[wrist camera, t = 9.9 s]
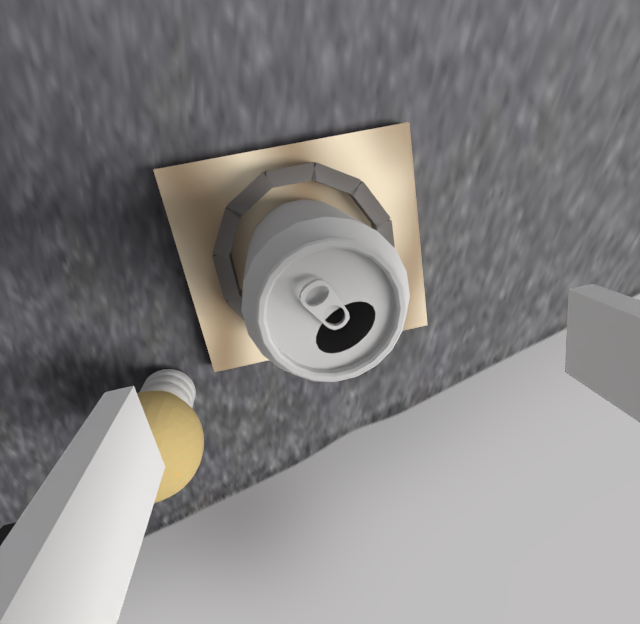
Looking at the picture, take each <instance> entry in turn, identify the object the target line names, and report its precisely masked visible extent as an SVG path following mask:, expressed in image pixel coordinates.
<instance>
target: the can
mask: <svg viewBox="0 0 640 624" xmlns="http://www.w3.org/2000/svg"><path fill="white" fill-rule="evenodd" d="M409 299H410V293H409V285H408V277H407V271H406V269H405V267H404V265H403V263H402V261H401V259H400V257H399V255H398V253H397V251H396V249H395V248H394V247H393V246H392V245H391V244H390V243H389V242H388V241H387V240H386V239H385V238H384V237H383V236H382V235H381V234H380V233H379V232H378V231H376V230H375V229H373V228H371V227H369V226H367V225H366V224H364V223H362V222H360V221H358V220H357V219H355V218H353V217H351V216H350V215H348V214H346V213H344V212H342V211H341V210H339V209H337V208H335V207H333V206H330V205H328V204H326V203H324V202H322V201H315V200H306V199H301V200H296V201H291V202H287V203H283V204H282V205H280V206H278V207H277V208H275V209H273V210H272V211H270V212H268V213H267V214H266V216H265V217H264V218H263V219H262V220H261V221H260V223H259V224H258V225H257V226H256V228H255V230H254V232H253V235H252V237H251V240H250V242H249V246H248V253H247V260H246V267H245V273H244V280H243V292H242V309H241V311H242V314H243V318H244V321H245V325H246V328H247V332H248V335H249V336H250V338H251V339H252V341H253V342H254V343H255V345H256V346H257V348H258V349H259V351H260V352H261V353H262V355H263V356H264V357H266V358H267V359H269V360H270V361H271V362H273V363H274V364H275V365H277V366H278V367H279V368H281V369H282V370H284V371H287V372H290V373H291V374H294V375H296V376H299V377H302V378H305V379H308V380H311V381H324V382H337V381H341V380H345V379H349V378H353V377H357V376H359V375H361V374H362V373H364V372H366V371H368V370H369V369H371V368H373V367H375V366H376V365H378V363H379V362H380V361H381V360H382V359H383V358H384V357H385V356H386V355H387V354H388V353H389V352H390V351H391V350H392V349H393V347H394V345H395V344H396V342H397V340H398V338H399V336H400V334H401V332H402V331H403V327H404V322H405V320H406V314H407V309H408V304H409Z"/></svg>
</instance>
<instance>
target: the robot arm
mask: <svg viewBox="0 0 640 624" xmlns="http://www.w3.org/2000/svg"><path fill="white" fill-rule="evenodd" d="M565 372H566V373H567V374H569V375H570V376H572V377H573V378H575V379H576V380H578V381H579V382H581V383H582V384H584V385H585V386H587V387H588V388H590V389H591V390H593V391H594V392H595V393H597V394H598V395H600V396H601V397H603V398H604V399H606V400H607V401H609V402H611V403H612V404H613V405H615V406H616V407H618V408H619V409H621V410H622V411H624V412H625V413H627V414H628V415H630V416H631V417H633V418H634V419H636V420H637V421H639V422H640V300H638V299H635V298H632V297H629V296H626V295H623V294H621V293H618V292H615V291H612V290H609V289H606V288H604V287H601V286H598V285H595V284H590V285H586V286H581V287H577V288H572V289H569V292H568V316H567V339H566V363H565ZM164 469H165V465H164V462H163V460H162V457H161V454H160V452H159V449H158V447H157V444H156V442H155V439H154V436H153V434H152V431H151V429H150V426H149V423H148V421H147V418H146V416H145V413H144V411H143V408H142V405H141V403H140V400H139V398H138V395H137V393H136V390H135V387H134V386H130V387H126V388H121V389H117V390H112V391H108V392H105V393H104V394H103V396H102V397H101V399H100V400H99V401H98V403H97V404H96V406H95V407H94V409H93V410H92V412H91V413H90V415H89V416H88V418H87V419H86V421H85V422H84V424H83V425H82V427H81V428H80V429H79V431H78V432H77V434H76V435H75V437H74V438H73V440H72V441H71V443H70V444H69V446H68V447H67V449H66V450H65V452H64V453H63V455H62V456H61V457H60V459H59V460H58V462H57V463H56V465H55V466H54V468H53V469H52V471H51V472H50V474H49V475H48V477H47V478H46V480H45V481H44V483H43V484H42V485H41V487H40V488H39V490H38V491H37V493H36V494H35V496H34V497H33V499H32V500H31V502H30V503H29V505H28V506H27V508H26V509H25V511H24V512H23V513H22V515H21V516H20V518H19V519H18V521H17V522H16V523H12V524H8V525H4V526H3V527H2V528H1V529H0V624H117V621H118V618H119V614H120V611H121V608H122V605H123V602H124V598H125V595H126V592H127V589H128V585H129V582H130V579H131V575H132V572H133V569H134V566H135V563H136V560H137V556H138V553H139V550H140V546H141V543H142V540H143V537H144V534H145V531H146V527H147V524H148V521H149V518H150V514H151V511H152V508H153V505H154V502H155V498H156V495H157V492H158V489H159V485H160V482H161V479H162V476H163V472H164Z"/></svg>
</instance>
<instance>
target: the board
mask: <svg viewBox="0 0 640 624" xmlns="http://www.w3.org/2000/svg"><path fill="white" fill-rule="evenodd" d="M153 171H154V174H155V177H156V181H157V184H158V187H159V190H160V194H161V197H162V200H163V204H164V207H165V210H166V214H167V217H168V220H169V223H170V227H171V230H172V233H173V237H174V240H175V243H176V247H177V250H178V253H179V256H180V260H181V263H182V266H183V270H184V273H185V276H186V280H187V283H188V286H189V289H190V293H191V296H192V299H193V303H194V306H195V309H196V313H197V316H198V319H199V322H200V326H201V329H202V332H203V336H204V339H205V342H206V346H207V349H208V352H209V355H210V359H211V362H212V365H213V369H214V372H218V371H222V370H227V369H231V368H236V367H240V366H245V365H249V364H254V363H258V362H263V361H267V360H269V359H267V358H266V357H264V356H263V355H262V353H261V352H260V351H259V349H258V348H257V346H256V345H255V343H254V342H253V341H252V339H251V338H250V336H249V335H248V332H247V328H246V325H245V321H244V318H243V314H242V311H241V309H242V292H243V280H244V273H245V267H246V260H247V253H248V246H249V242H250V240H251V237H252V235H253V232H254V230H255V228H256V226H257V225H258V224H259V223H260V221H261V220H262V219H263V218H264V217H265V216H266V214H267V213H268V212H270V211H272V210H273V209H275V208H277V207H278V206H280V205H282V204H283V203H287V202H291V201H296V200H301V199H306V200H315V201H322V202H324V203H326V204H328V205H330V206H333V207H335V208H337V209H339V210H341V211H342V212H344V213H346V214H348V215H350V216H351V217H353V218H355V219H357V220H358V221H360V222H362V223H364V224H366V225H367V226H369V227H371V228H373V229H375V230H376V231H378V232H379V233H380V234H381V235H382V236H383V237H384V238H385V239H386V240H387V241H388V242H389V243H390V244H391V245H392V246H393V247H394V248H395V249H396V251H397V253H398V255H399V257H400V259H401V261H402V263H403V265H404V267H405V269H406V271H407V277H408V285H409V293H410V299H409V304H408V309H407V314H406V320H405V322H404V327H403V330H407V329H412V328H417V327H421V326H426V325H427V314H426V303H425V292H424V281H423V270H422V259H421V247H420V236H419V225H418V214H417V203H416V192H415V181H414V169H413V158H412V147H411V136H410V125H409V122H407V123H401V124H396V125H391V126H385V127H380V128H374V129H369V130H364V131H358V132H353V133H347V134H342V135H337V136H331V137H326V138H321V139H315V140H310V141H304V142H299V143H294V144H288V145H283V146H277V147H272V148H267V149H261V150H256V151H250V152H245V153H240V154H234V155H229V156H224V157H218V158H213V159H207V160H202V161H197V162H191V163H186V164H180V165H175V166H170V167H164V168H159V169H153Z"/></svg>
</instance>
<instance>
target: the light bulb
mask: <svg viewBox="0 0 640 624" xmlns="http://www.w3.org/2000/svg"><path fill="white" fill-rule="evenodd" d="M195 394H196V391H195V386H194V384H193V382H192V380H191V379H190V378H189V377H188V376H187V375H186V374H184V373H183V372H180V371H178V370H174V369H163V370H159V371H157V372H155V373H153V374H151V375H150V376H149V377H148V378H147V379H146V381H145V383H144V384H143V387H142V388H141V390H140V392H139V393H137V395H138V398H139V400H140V403H141V405H142V408H143V411H144V413H145V416H146V418H147V421H148V423H149V426H150V429H151V431H152V434H153V436H154V439H155V442H156V444H157V447H158V449H159V452H160V454H161V457H162V460H163V462H164V465H165V469H164V472H163V476H162V479H161V482H160V485H159V489H158V492H157V495H156V498H155V502H154V503H156V502H159V501H162V500H164V499H166V498H168V497H170V496H172V495H174V494H176V493H177V492H178V491H180V490H181V489H182V488H183V487H184V486H185V485H186V484H187V483H188V482H189V481H190V480H191V479H192V477H193V476H194V474H195V472H196V470H197V469H198V467H199V464H200V461H201V458H202V454H203V448H204V436H203V431H202V426H201V423H200V421H199V419H198V417H197V415H196V413H195V412H194V410H193V409H192V407H193V402H194V399H195Z"/></svg>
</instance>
